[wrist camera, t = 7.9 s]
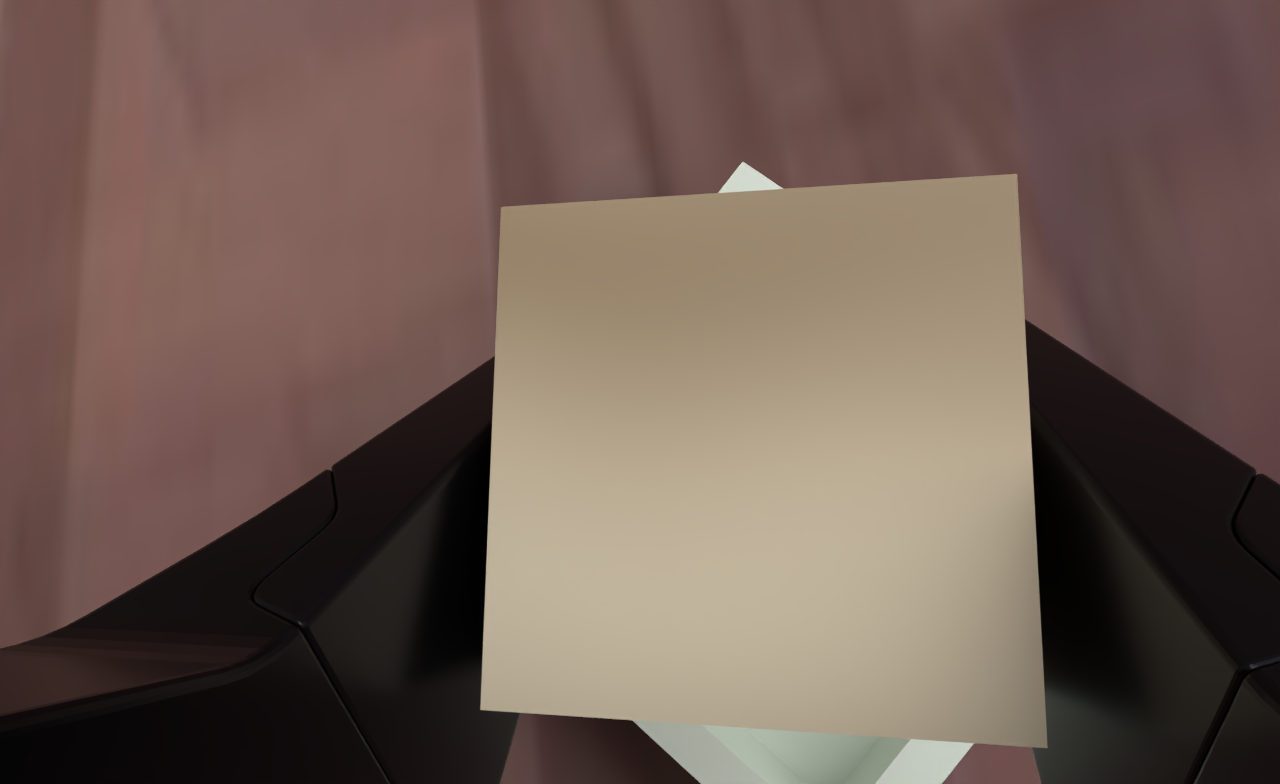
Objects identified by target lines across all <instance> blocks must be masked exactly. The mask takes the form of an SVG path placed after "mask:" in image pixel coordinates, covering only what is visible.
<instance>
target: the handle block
mask: <svg viewBox="0 0 1280 784" xmlns="http://www.w3.org/2000/svg"><path fill="white" fill-rule="evenodd" d="M480 710H488V711H503V712H518V713H533V714H548V715H562V716H577V717H592V718H607V719H622V720H636V721H651V722H666V723H681V724H696V725H710V726H725V727H740V728H755V729H770V730H784V731H799V732H814V733H829V734H844V735H859V736H873V737H888V738H903V739H918V740H933V741H947V742H962V743H977V744H992V745H1007V746H1021V747H1036V748H1048V746H1047V727H1046V709H1045V690H1044V671H1043V652H1042V634H1041V615H1040V596H1039V578H1038V559H1037V540H1036V521H1035V503H1034V484H1033V465H1032V446H1031V428H1030V409H1029V390H1028V372H1027V353H1026V334H1025V315H1024V297H1023V278H1022V259H1021V240H1020V222H1019V203H1018V184H1017V174H1008V175H993V176H977V177H961V178H946V179H930V180H915V181H899V182H884V183H868V184H852V185H837V186H821V187H806V188H790V189H774V190H759V191H743V192H728V193H712V194H696V195H681V196H665V197H650V198H634V199H619V200H603V201H587V202H572V203H556V204H541V205H525V206H509V207H501V224H500V248H499V272H498V296H497V320H496V344H495V368H494V392H493V416H492V440H491V465H490V489H489V513H488V537H487V561H486V585H485V609H484V633H483V657H482V681H481V705H480Z"/></svg>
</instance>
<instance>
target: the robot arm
mask: <svg viewBox="0 0 1280 784" xmlns="http://www.w3.org/2000/svg"><path fill="white" fill-rule="evenodd" d="M1025 334H1026V353H1027V372H1028V390H1029V409H1030V428H1031V446H1032V465H1033V484H1034V503H1035V521H1036V540H1037V559H1038V578H1039V596H1040V615H1041V634H1042V652H1043V671H1044V690H1045V709H1046V727H1047V746H1048V748H1036V747H1032V750H1033V754H1034V757H1035V761H1036V765H1037V768H1038V772H1039V776H1040V779H1041V783H1042V784H1280V484H1278V483H1277V482H1275V481H1274V480H1272V479H1271V478H1269V477H1268V476H1266V475H1264V474H1258V475H1256V470H1255V468H1253V467H1252V466H1250V465H1249V464H1247V463H1246V462H1244V461H1242V460H1241V459H1239V458H1238V457H1236V456H1235V455H1233V454H1232V453H1230V452H1229V451H1227V450H1226V449H1224V448H1222V447H1221V446H1219V445H1218V444H1216V443H1215V442H1213V441H1212V440H1210V439H1209V438H1207V437H1206V436H1204V435H1202V434H1201V433H1199V432H1198V431H1196V430H1195V429H1193V428H1192V427H1190V426H1189V425H1187V424H1185V423H1184V422H1182V421H1181V420H1179V419H1178V418H1176V417H1175V416H1173V415H1172V414H1170V413H1169V412H1167V411H1165V410H1164V409H1162V408H1161V407H1159V406H1158V405H1156V404H1155V403H1153V402H1152V401H1150V400H1149V399H1147V398H1145V397H1144V396H1142V395H1141V394H1139V393H1138V392H1136V391H1135V390H1133V389H1132V388H1130V387H1129V386H1127V385H1125V384H1124V383H1122V382H1121V381H1119V380H1118V379H1116V378H1115V377H1113V376H1112V375H1110V374H1108V373H1107V372H1105V371H1104V370H1102V369H1101V368H1099V367H1098V366H1096V365H1095V364H1093V363H1092V362H1090V361H1088V360H1087V359H1085V358H1084V357H1082V356H1081V355H1079V354H1078V353H1076V352H1075V351H1073V350H1072V349H1070V348H1068V347H1067V346H1065V345H1064V344H1062V343H1061V342H1059V341H1058V340H1056V339H1055V338H1053V337H1052V336H1050V335H1048V334H1047V333H1045V332H1044V331H1042V330H1041V329H1039V328H1038V327H1036V326H1035V325H1033V324H1031V323H1030V322H1028V321H1027V320H1025ZM494 368H495V356H494V357H493V358H491V359H490V360H488V361H487V362H485V363H484V364H482V365H481V366H479V367H478V368H476V369H475V370H473V371H472V372H470V373H469V374H468V375H466V376H465V377H463V378H462V379H460V380H459V381H457V382H456V383H454V384H453V385H451V386H450V387H448V388H447V389H445V390H444V391H442V392H441V393H439V394H438V395H436V396H435V397H433V398H432V399H430V400H429V401H427V402H426V403H424V404H423V405H421V406H420V407H419V408H417V409H416V410H414V411H413V412H411V413H410V414H408V415H407V416H405V417H404V418H402V419H401V420H399V421H398V422H396V423H395V424H393V425H392V426H390V427H389V428H387V429H386V430H384V431H383V432H381V433H380V434H378V435H377V436H375V437H374V438H372V439H371V440H370V441H368V442H367V443H365V444H364V445H362V446H361V447H359V448H358V449H356V450H355V451H353V452H352V453H350V454H349V455H347V456H346V457H344V458H343V459H341V460H340V461H338V462H337V463H335V464H334V465H333V466H332V471H331V470H325V471H323V472H322V473H320V474H319V475H317V476H316V477H314V478H313V479H311V480H310V481H309V482H307V483H306V484H304V485H303V486H301V487H300V488H298V489H297V490H295V491H294V492H292V493H290V494H289V495H287V496H286V497H284V498H283V499H281V500H280V501H278V502H277V503H275V504H273V505H272V506H270V507H269V508H267V509H266V510H264V511H263V512H261V513H260V514H258V515H256V516H255V517H253V518H251V519H250V520H248V521H246V522H245V523H243V524H241V525H240V526H238V527H236V528H235V529H233V530H231V531H230V532H228V533H226V534H225V535H223V536H221V537H220V538H218V539H216V540H215V541H213V542H211V543H210V544H208V545H206V546H205V547H203V548H201V549H199V550H198V551H196V552H194V553H193V554H191V555H189V556H187V557H186V558H184V559H182V560H180V561H179V562H177V563H175V564H174V565H172V566H170V567H168V568H167V569H165V570H163V571H162V572H160V573H158V574H156V575H155V576H153V577H151V578H150V579H148V580H146V581H144V582H143V583H141V584H139V585H137V586H136V587H134V588H132V589H131V590H129V591H127V592H125V593H124V594H122V595H120V596H119V597H117V598H115V599H113V600H112V601H110V602H108V603H107V604H105V605H103V606H101V607H100V608H98V609H96V610H94V611H93V612H91V613H89V614H88V615H86V616H84V617H82V618H80V619H78V620H76V621H75V622H73V623H71V624H69V625H67V626H65V627H63V628H60V629H58V630H56V631H53V632H51V633H49V634H46V635H44V636H42V637H39V638H35V639H32V640H29V641H26V642H23V643H20V644H17V645H13V646H9V647H5V648H1V649H0V784H500V781H501V778H502V774H503V771H504V767H505V764H506V760H507V757H508V754H509V750H510V747H511V743H512V740H513V736H514V733H515V730H516V726H517V723H518V719H519V716H520V713H518V712H503V711H488V710H480V705H481V681H482V657H483V633H484V609H485V585H486V561H487V537H488V513H489V489H490V465H491V440H492V416H493V392H494Z"/></svg>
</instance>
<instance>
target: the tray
mask: <svg viewBox="0 0 1280 784" xmlns="http://www.w3.org/2000/svg"><path fill="white" fill-rule="evenodd" d="M774 189H783V188H781V187H780V186H778V185H777V184H775V183H774V182H772V181H771V180H769V179H768V178H766V177H765V176H763V175H762V174H760V173H759V172H757V171H756V170H754V169H753V168H751V167H750V166H749V165H747V164H746V163H744V162H742V163H741V164H740V166H739V167H738V168H737V170H736V171H735V172H734V173H733V175H732V176H731V177H730V178H729V180H728V181H727V182H726V184H725V185H724V186H723V187H722V189H721V190H720V191H719V193H728V192H743V191H759V190H774ZM632 721H633V722H635V723H636V724H637V725H638V726H639V727H640V728H641V729H642V730H643V731H644V732H645V733H646V734H648V735H649V736H650V737H651V738H652V739H653V740H654V741H655V742H656V743H657V744H658V745H659V746H660V747H662V748H663V749H664V750H665V751H666V752H667V753H668V754H669V755H670V756H671V757H672V758H673V759H675V760H676V761H677V762H678V763H679V764H680V765H681V766H682V767H683V768H684V769H685V770H686V771H688V772H689V773H690V774H691V775H692V776H693V777H694V778H695V779H696V780H697V781H698V782H699V783H701V784H942V783H943V781H944V780H945V779H946V778H947V776H948V775H949V774H950V773H951V771H952V770H953V769H954V768H955V766H956V765H957V764H958V763H959V761H960V760H961V759H962V758H963V756H964V755H965V754H966V753H967V751H968V750H969V749H970V748H971V746H972V745H973V744H974V743H962V742H947V741H933V740H918V739H903V738H888V737H873V736H859V735H844V734H829V733H814V732H799V731H784V730H770V729H755V728H740V727H725V726H710V725H696V724H681V723H666V722H651V721H636V720H632Z"/></svg>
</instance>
